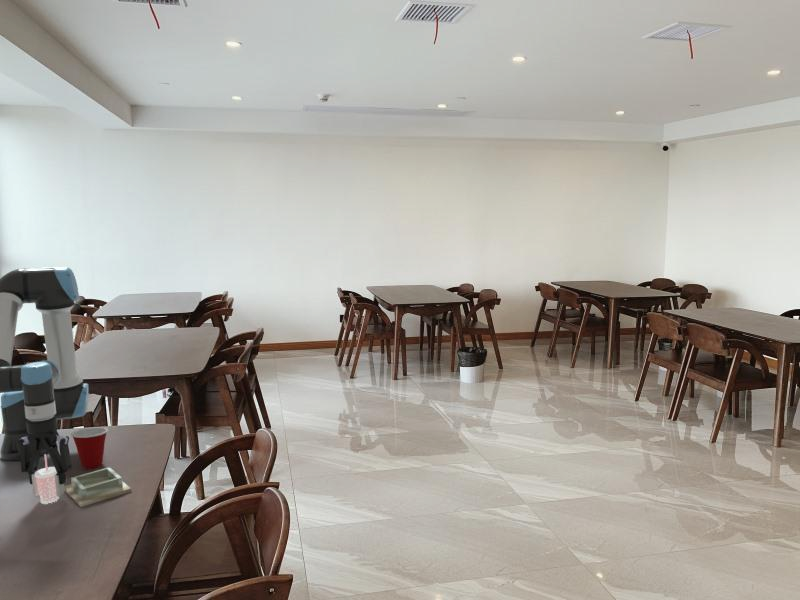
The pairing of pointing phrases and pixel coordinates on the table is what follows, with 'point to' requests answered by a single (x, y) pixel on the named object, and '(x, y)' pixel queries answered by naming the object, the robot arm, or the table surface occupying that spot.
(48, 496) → the beverage cup
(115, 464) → the table surface
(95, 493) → the cup stand
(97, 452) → the plastic cup
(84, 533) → the table surface
